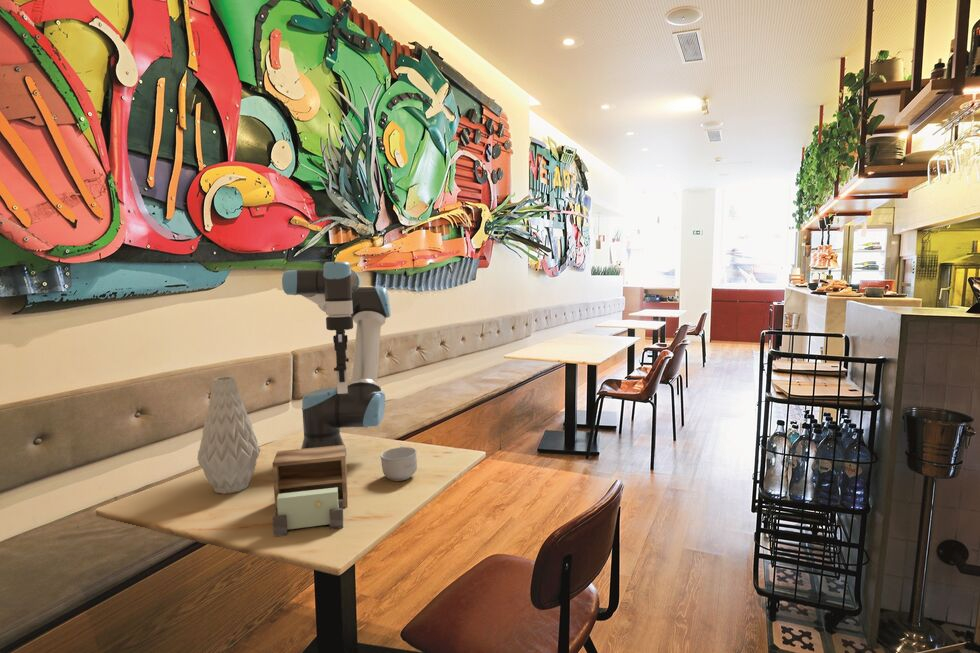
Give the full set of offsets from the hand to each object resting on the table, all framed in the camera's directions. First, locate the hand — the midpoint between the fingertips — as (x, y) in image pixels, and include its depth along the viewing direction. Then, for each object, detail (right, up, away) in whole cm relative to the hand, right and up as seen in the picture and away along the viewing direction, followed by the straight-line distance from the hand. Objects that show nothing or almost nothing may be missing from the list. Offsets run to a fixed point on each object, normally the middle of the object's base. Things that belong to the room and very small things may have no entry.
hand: (342, 388), depth 162 cm
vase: (-33, -30, +1) cm, 44 cm away
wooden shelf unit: (-4, -31, -17) cm, 35 cm away
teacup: (+16, -28, +9) cm, 33 cm away
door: (-2, -31, -25) cm, 39 cm away
